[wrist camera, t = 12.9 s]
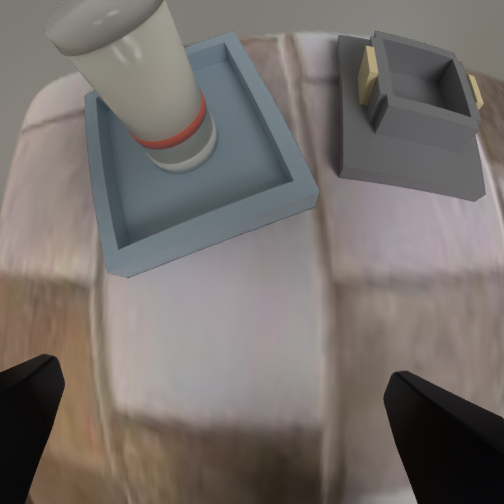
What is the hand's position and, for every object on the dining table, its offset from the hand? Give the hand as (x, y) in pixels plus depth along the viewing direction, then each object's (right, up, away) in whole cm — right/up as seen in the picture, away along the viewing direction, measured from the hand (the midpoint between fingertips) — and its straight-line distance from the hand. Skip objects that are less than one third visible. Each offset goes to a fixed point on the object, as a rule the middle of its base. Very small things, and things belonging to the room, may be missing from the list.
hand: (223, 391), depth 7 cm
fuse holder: (+12, +13, +11) cm, 21 cm away
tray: (-4, +10, +12) cm, 16 cm away
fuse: (-4, +10, +12) cm, 16 cm away
